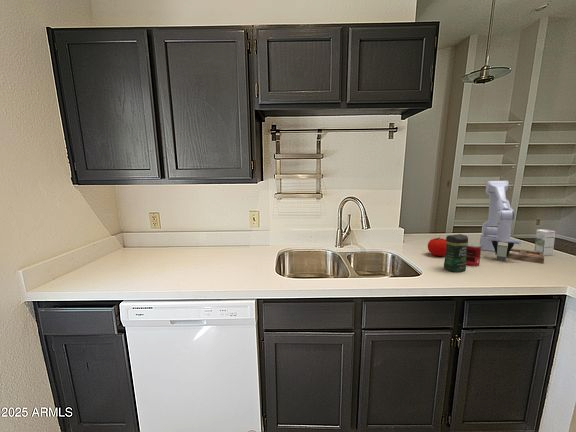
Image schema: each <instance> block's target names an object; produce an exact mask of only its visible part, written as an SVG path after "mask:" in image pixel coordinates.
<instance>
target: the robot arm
mask: <svg viewBox="0 0 576 432" xmlns="http://www.w3.org/2000/svg"><path fill="white" fill-rule="evenodd" d="M509 183H510V182H509V180H488V181H487V182H486V183H485V194H486V195H488V197H489V201H488V202H489V203H488V217H487V218H488V219H487V220H486V221H483V223H482V227H481V235H480V238H479V243H478V244H480V245H481V251H483V250H484V251H489V252H494V253H495V254H494V255H496V256H497V247H498V245H499V243H505V244H507V254H506V256H508V254H509V252H510V250H511V249H512V248H514V246H515V245H519V246H521V245H522V240H518V239H512V238H511V235H512V234H511V233H512V232H511V231H512V223H513V220H515V210H514V209H513V208H511V204H510V201H509V199H507V196H506V193H507V191H508V190H509V186H510V184H509Z"/></svg>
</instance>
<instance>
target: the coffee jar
mask: <svg viewBox="0 0 576 432" xmlns="http://www.w3.org/2000/svg"><path fill="white" fill-rule="evenodd" d="M445 240H446V254H445V255H444V262H443V269H445V270H446V271H448V272H453V273H457V272H458V273H459V272H465V271H466V270H467V265H466V248H467V245H468V243H469V237H468V235H465V234H461V233H458V234H448V235H447V236H446V238H445Z"/></svg>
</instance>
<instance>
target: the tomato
mask: <svg viewBox="0 0 576 432" xmlns="http://www.w3.org/2000/svg"><path fill="white" fill-rule="evenodd" d="M427 250H428V252H429V253H430V254H431V255H433V256H437V257H438V256H439V257H440V256H441V257H443V256H445V254H446V238H441V236H439V237H436V238H431V239H429V241H428V242H427Z"/></svg>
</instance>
